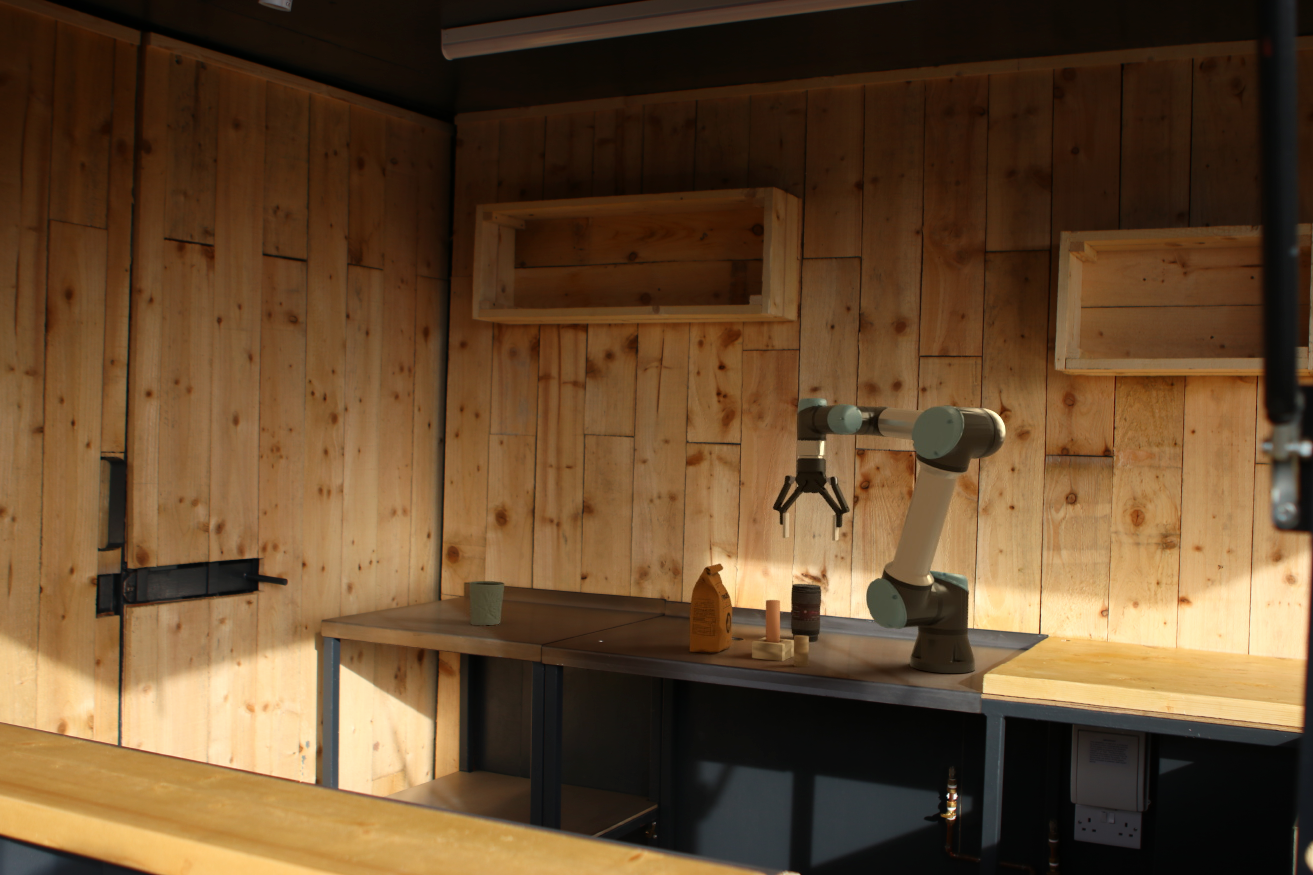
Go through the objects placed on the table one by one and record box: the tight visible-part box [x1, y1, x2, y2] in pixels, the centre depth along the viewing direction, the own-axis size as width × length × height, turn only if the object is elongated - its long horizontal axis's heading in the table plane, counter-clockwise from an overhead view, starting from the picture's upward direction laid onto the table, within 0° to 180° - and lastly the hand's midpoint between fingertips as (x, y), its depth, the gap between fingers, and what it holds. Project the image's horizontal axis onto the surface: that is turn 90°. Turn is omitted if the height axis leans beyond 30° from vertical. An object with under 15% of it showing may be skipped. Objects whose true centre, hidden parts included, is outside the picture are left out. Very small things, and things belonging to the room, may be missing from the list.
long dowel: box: [765, 599, 781, 643], centre depth 279 cm, size 4×4×14 cm
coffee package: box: [689, 563, 733, 654], centre depth 286 cm, size 10×12×22 cm
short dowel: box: [793, 635, 810, 668], centre depth 268 cm, size 4×4×7 cm
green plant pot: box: [468, 580, 505, 626], centre depth 324 cm, size 10×10×12 cm
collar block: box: [751, 636, 794, 662], centre depth 278 cm, size 8×8×4 cm
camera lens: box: [790, 583, 822, 643], centre depth 305 cm, size 8×8×15 cm
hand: (810, 539), depth 290 cm, fingers open, 13 cm apart
